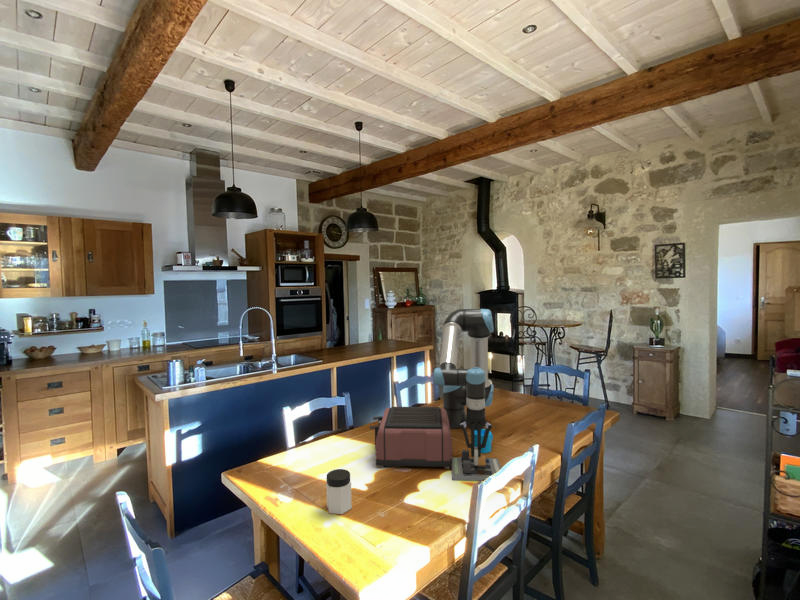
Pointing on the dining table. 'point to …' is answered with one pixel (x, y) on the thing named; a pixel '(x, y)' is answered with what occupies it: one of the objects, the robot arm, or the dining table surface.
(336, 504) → the jar
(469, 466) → the breaker
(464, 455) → the breaker
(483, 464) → the breaker
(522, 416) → the dining table surface
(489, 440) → the mug
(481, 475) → the panel
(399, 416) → the toaster
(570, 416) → the dining table surface
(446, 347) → the robot arm
